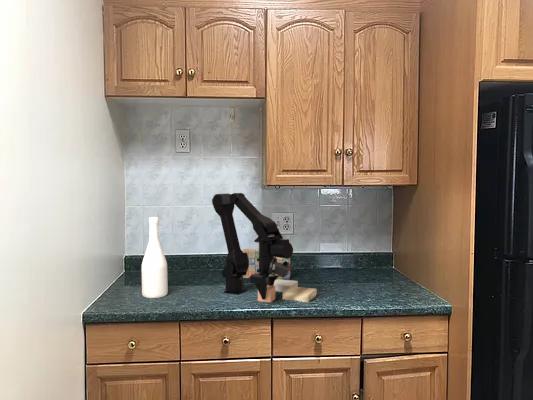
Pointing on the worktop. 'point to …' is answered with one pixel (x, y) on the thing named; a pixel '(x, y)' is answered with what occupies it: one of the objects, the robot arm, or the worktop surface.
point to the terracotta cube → (268, 294)
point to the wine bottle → (154, 265)
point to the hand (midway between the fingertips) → (266, 297)
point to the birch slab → (299, 294)
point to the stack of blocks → (254, 264)
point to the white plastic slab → (284, 284)
